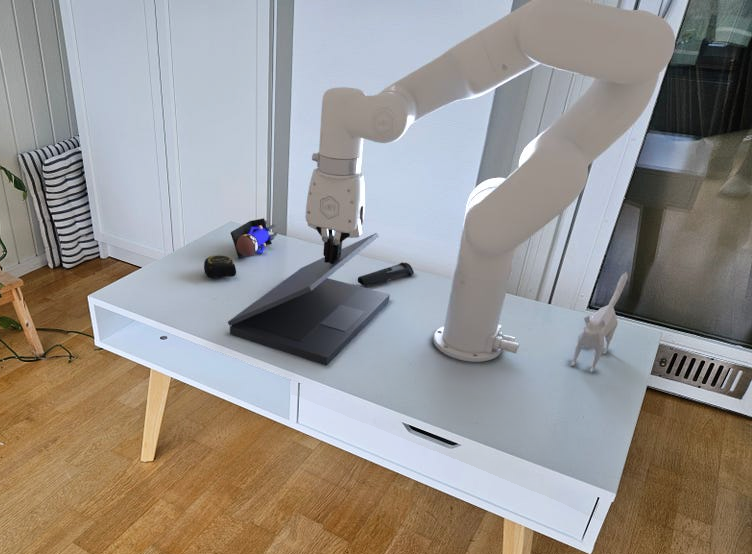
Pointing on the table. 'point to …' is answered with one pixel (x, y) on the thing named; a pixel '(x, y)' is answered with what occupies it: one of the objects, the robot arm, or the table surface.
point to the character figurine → (252, 237)
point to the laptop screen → (302, 281)
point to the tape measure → (219, 267)
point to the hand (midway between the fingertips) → (331, 260)
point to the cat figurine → (600, 327)
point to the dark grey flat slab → (314, 321)
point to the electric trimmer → (386, 274)
